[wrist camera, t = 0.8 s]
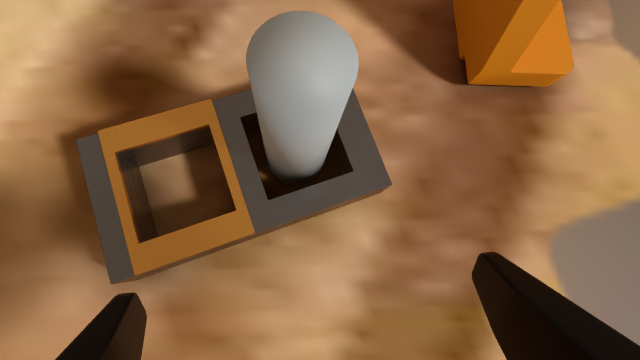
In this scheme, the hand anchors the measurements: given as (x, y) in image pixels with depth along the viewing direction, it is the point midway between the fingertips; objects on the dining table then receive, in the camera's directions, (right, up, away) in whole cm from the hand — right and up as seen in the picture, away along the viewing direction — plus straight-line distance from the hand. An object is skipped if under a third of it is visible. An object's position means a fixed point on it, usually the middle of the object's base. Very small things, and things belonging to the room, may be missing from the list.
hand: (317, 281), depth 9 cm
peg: (-2, +4, +15) cm, 16 cm away
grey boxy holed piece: (-5, +3, +15) cm, 16 cm away
